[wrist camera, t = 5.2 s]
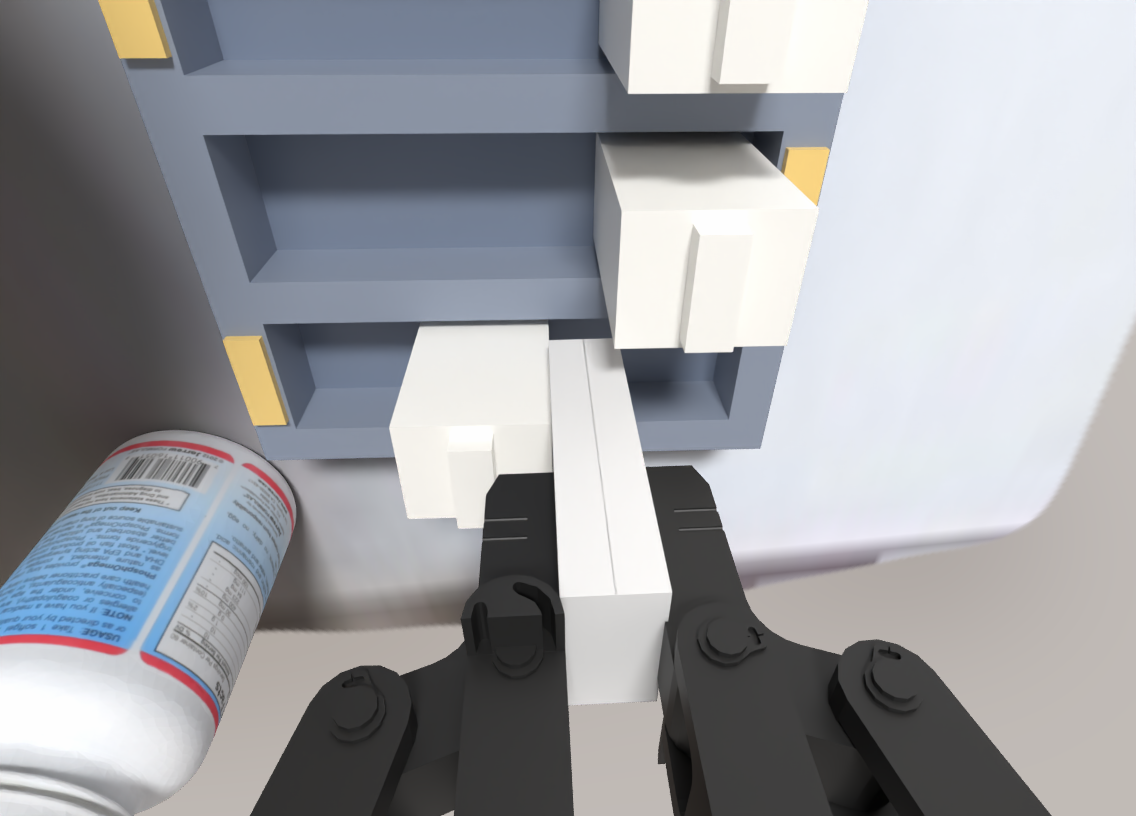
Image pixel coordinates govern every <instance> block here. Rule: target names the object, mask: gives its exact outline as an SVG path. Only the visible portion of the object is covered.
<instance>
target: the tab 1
mask: <svg viewBox="0 0 1136 816" xmlns="http://www.w3.org/2000/svg"><path fill="white" fill-rule="evenodd" d="M548 340H549V328H548V319H535V320H475V321H421V323H420V326H419V329H418V333H417V336H416V339H415V343H414V346H413V349H412V353H411V356H410V359H409V363H408V366H407V369H406V373H405V376H404V379H403V383H402V386H401V389H400V393H399V396H398V399H397V403H396V406H395V409H394V413H393V416H392V419H391V423H390V426H389V430H390V435H391V440H392V444H393V449H394V454H395V459H396V464H397V469H398V473H399V478H400V483H401V488H402V493H403V498H404V502H405V507H406V512H407V517H408V519H423V518H457V525H458V529H466V528H483V526H484V513H485V500H486V494H487V492H488V491H489V489H490V488H491V486H492V485H493V483H494V481H495V480H496V478H497V477H498V475H499V474H521V473H547V472H552V423H551V394H550V371H549V344H548Z"/></svg>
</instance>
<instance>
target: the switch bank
mask: <svg viewBox="0 0 1136 816" xmlns="http://www.w3.org/2000/svg"><path fill="white" fill-rule="evenodd" d="M98 1H99V4H100V7H101V10H102V12H103V15H104V18H105V20H106V23H107V26H108V29H109V31H110V34H111V37H112V40H113V42H114V45H115V48H116V51H117V53H118V56H119V58H120V59H121V62H122V65H123V68H124V70H125V73H126V76H127V79H128V81H129V84H130V87H131V90H132V92H133V95H134V98H135V101H136V103H137V106H138V109H139V111H140V114H141V117H142V120H143V122H144V125H145V128H146V131H147V133H148V136H149V139H150V142H151V144H152V147H153V150H154V153H155V155H156V158H157V161H158V164H159V166H160V169H161V172H162V175H163V177H164V180H165V183H166V186H167V188H168V191H169V194H170V196H171V199H172V202H173V205H174V207H175V210H176V213H177V216H178V218H179V221H180V224H181V227H182V229H183V232H184V235H185V238H186V240H187V243H188V246H189V249H190V251H191V254H192V257H193V260H194V262H195V265H196V268H197V271H198V273H199V276H200V279H201V281H202V284H203V287H204V290H205V292H206V295H207V298H208V301H209V303H210V306H211V309H212V312H213V314H214V317H215V320H216V323H217V325H218V328H219V331H220V334H221V336H222V339H223V343H224V346H225V349H226V352H227V354H228V357H229V360H230V363H231V365H232V368H233V371H234V374H235V376H236V379H237V382H238V384H239V387H240V390H241V393H242V395H243V398H244V401H245V404H246V406H247V409H248V412H249V415H250V417H251V420H252V423H253V426H254V427H255V430H256V432H257V435H258V438H259V440H260V443H261V446H262V449H263V451H264V454H265V457H266V460H300V459H342V458H384V457H395V454H394V449H393V444H392V440H391V435H390V430H389V426H390V423H391V419H392V416H393V413H394V409H395V406H396V403H397V399H398V396H399V393H400V389H401V386H402V383H403V379H404V376H405V373H406V369H407V366H408V363H409V359H410V356H411V353H412V349H413V346H414V343H415V339H416V336H417V333H418V329H419V326H420V323H421V321H475V320H535V319H548V328H549V340H573V339H605V338H612V333H611V328H610V323H609V318H608V312H607V307H606V302H605V296H604V291H603V286H602V281H601V275H600V270H599V265H598V260H597V254H596V249H595V244H594V239H593V226H594V189H595V152H596V132H730V131H739V132H740V133H741V134H742V135H743V136H744V137H745V138H746V139H747V140H748V141H749V142H750V143H751V144H752V145H753V146H754V147H755V148H756V149H758V150H759V151H760V152H761V153H762V154H763V155H764V156H765V157H766V158H767V159H768V160H769V161H770V162H771V163H772V164H773V165H774V166H775V167H776V168H777V169H778V170H779V171H780V172H781V173H783V174H784V175H785V176H786V177H787V178H788V179H789V180H790V181H791V182H792V183H793V184H794V185H795V186H796V187H797V188H798V189H799V190H800V191H801V192H802V193H803V194H804V195H805V196H807V197H808V198H809V199H810V200H811V201H812V202H813V203H814V204H815V205H816V206H817V205H818V201H819V197H820V192H821V188H822V184H823V180H824V175H825V171H826V167H827V163H828V158H829V154H830V150H831V146H832V142H833V137H834V133H835V129H836V125H837V120H838V116H839V112H840V108H841V103H842V99H843V95H844V93H700V94H628V93H627V91H626V89H625V88H624V86H623V84H622V83H621V81H620V79H619V78H618V76H617V74H616V72H615V71H614V69H613V67H612V66H611V64H610V62H609V60H608V59H607V57H606V55H605V54H604V52H603V50H602V49H601V47H600V45H599V43H598V42H599V5H600V0H98ZM783 350H784V346H746V347H734V349H733V352H710V353H685V352H684V350H683V348H637V349H620V351H621V355H622V360H623V365H624V369H625V374H626V379H627V383H628V388H629V393H630V397H631V402H632V407H633V411H634V416H635V421H636V425H637V430H638V435H639V439H640V444H641V449H642V451H678V450H720V449H760V447H761V443H762V439H763V435H764V430H765V426H766V422H767V418H768V413H769V409H770V405H771V401H772V396H773V392H774V388H775V384H776V379H777V375H778V371H779V367H780V362H781V358H782V354H783Z"/></svg>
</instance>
